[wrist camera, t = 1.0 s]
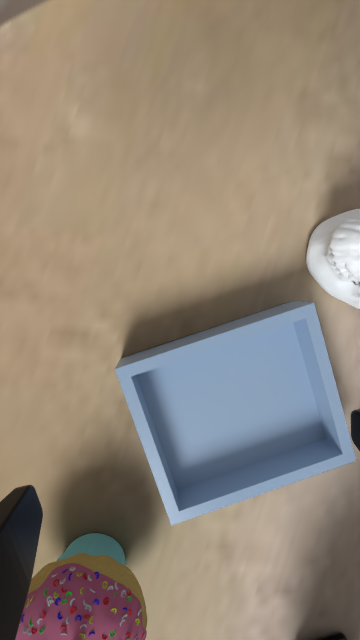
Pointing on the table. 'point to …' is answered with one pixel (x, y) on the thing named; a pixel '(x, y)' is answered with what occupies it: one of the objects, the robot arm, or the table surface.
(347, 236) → the skull bowl
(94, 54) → the table surface
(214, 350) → the tray
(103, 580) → the cupcake
